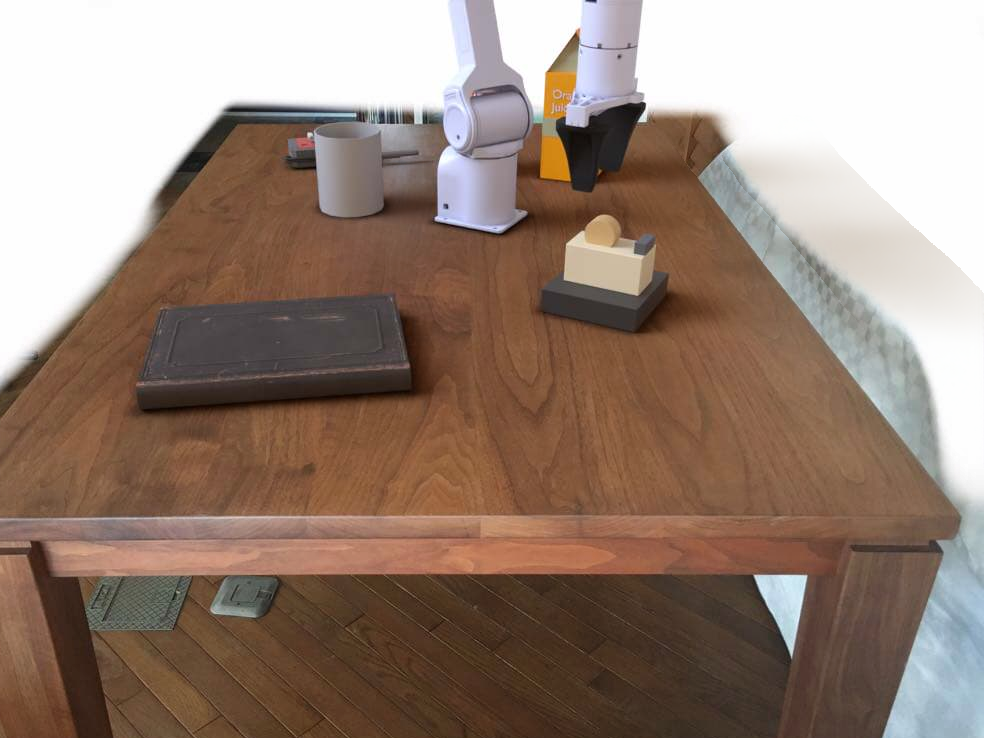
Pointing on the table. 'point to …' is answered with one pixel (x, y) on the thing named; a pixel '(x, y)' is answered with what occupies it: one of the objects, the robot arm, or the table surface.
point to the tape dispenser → (610, 258)
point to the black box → (603, 302)
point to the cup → (349, 168)
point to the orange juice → (558, 109)
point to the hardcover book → (274, 351)
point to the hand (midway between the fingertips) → (596, 180)
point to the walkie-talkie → (305, 152)
